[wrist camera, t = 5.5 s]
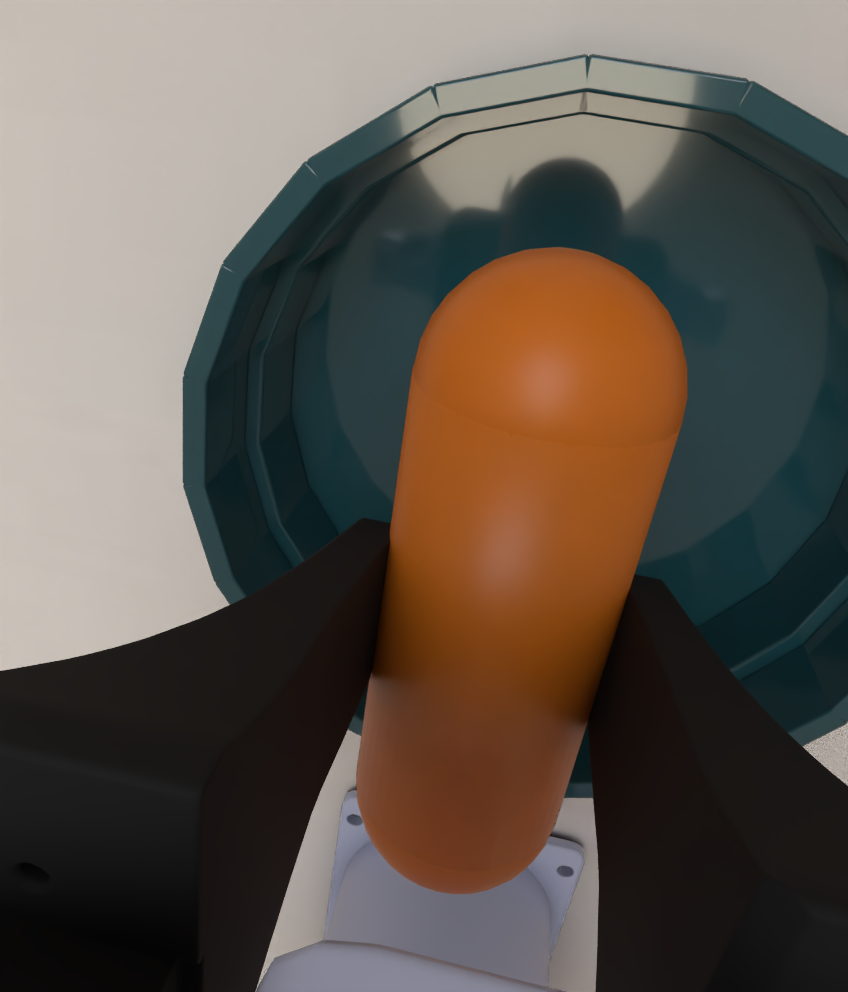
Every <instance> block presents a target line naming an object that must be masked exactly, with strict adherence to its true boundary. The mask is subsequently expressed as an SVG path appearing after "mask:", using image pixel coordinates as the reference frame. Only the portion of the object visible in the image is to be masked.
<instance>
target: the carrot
mask: <svg viewBox="0 0 848 992" xmlns="http://www.w3.org/2000/svg"><path fill="white" fill-rule="evenodd" d="M687 398H688V393H687V362H686V358H685V354H684V349H683V345H682V341H681V336H680V334H679V332H678V330H677V328H676V326H675V324H674V322H673V320H672V318H671V316H670V314H669V312H668V310H667V309H666V308H665V307H664V305H663V304H662V303H661V301H660V300H659V299H658V298H657V296H656V295H655V294H654V292H653V291H652V290H651V289H650V287H649V286H648V285H646V284H645V283H644V282H643V281H641V280H640V279H639V278H638V277H636V276H635V275H634V274H633V273H631V272H630V271H629V270H628V269H626V268H625V267H623V266H621V265H619V264H617V263H614V262H612V261H610V260H608V259H606V258H604V257H602V256H600V255H597V254H594V253H591V252H587V251H583V250H578V249H572V248H564V247H550V248H538V249H527V250H523V251H520V252H516V253H513V254H510V255H507V256H504V257H501V258H498V259H495V260H493V261H492V262H490V263H488V264H486V265H484V266H483V267H481V268H479V269H477V270H476V271H474V272H472V273H471V274H470V275H469V276H468V277H466V278H465V279H464V280H463V281H462V282H461V283H460V284H459V285H457V286H456V287H455V288H454V289H453V290H452V291H451V292H450V293H448V294H447V296H446V297H445V298H444V300H443V301H442V302H441V304H440V305H439V306H438V308H437V309H436V310H435V312H434V313H433V314H432V316H431V318H430V320H429V322H428V324H427V326H426V328H425V330H424V333H423V335H422V337H421V339H420V343H419V347H418V351H417V355H416V359H415V363H414V366H413V369H412V376H411V383H410V390H409V398H408V405H407V412H406V419H405V426H404V433H403V441H402V448H401V455H400V462H399V469H398V477H397V484H396V491H395V498H394V505H393V513H392V520H391V527H390V546H389V553H388V560H387V567H386V574H385V582H384V589H383V596H382V603H381V610H380V617H379V624H378V631H377V639H376V646H375V653H374V660H373V667H372V673H371V677H370V680H369V685H368V692H367V699H366V707H365V714H364V721H363V728H362V735H361V742H360V750H359V757H358V764H357V773H356V787H357V803H358V806H359V810H360V813H361V816H362V820H363V823H364V826H365V829H366V832H367V834H368V836H369V837H370V839H371V841H372V843H373V844H374V846H375V848H376V849H377V850H378V851H379V853H380V854H381V855H382V856H383V858H384V859H385V860H386V861H387V862H388V863H389V865H390V866H391V867H392V868H394V869H395V870H396V871H397V872H399V873H400V874H401V875H402V876H404V877H405V878H407V879H408V880H410V881H412V882H414V883H416V884H418V885H419V886H422V887H425V888H428V889H431V890H434V891H437V892H443V893H449V894H473V893H478V892H483V891H487V890H490V889H492V888H494V887H497V886H499V885H501V884H503V883H506V882H508V881H510V880H512V879H513V878H515V877H516V876H517V875H519V874H520V873H521V872H523V871H524V870H525V869H526V868H527V867H528V866H529V865H530V864H531V863H532V862H533V861H534V860H535V858H536V857H537V856H538V855H539V853H540V852H541V851H542V850H543V848H544V847H545V845H546V843H547V841H548V839H549V836H550V834H551V832H552V830H553V828H554V826H555V824H556V821H557V817H558V814H559V811H560V808H561V805H562V802H563V799H564V795H565V792H566V789H567V786H568V783H569V780H570V776H571V773H572V770H573V767H574V764H575V761H576V757H577V754H578V751H579V748H580V745H581V742H582V738H583V735H584V732H585V729H586V726H587V723H588V719H589V716H590V713H591V710H592V706H593V703H594V700H595V697H596V694H597V691H598V688H599V684H600V681H601V678H602V675H603V672H604V669H605V665H606V662H607V659H608V656H609V653H610V650H611V646H612V643H613V640H614V637H615V634H616V631H617V627H618V624H619V621H620V618H621V615H622V612H623V608H624V605H625V602H626V599H627V596H628V593H629V589H630V587H631V584H632V580H633V577H634V574H635V571H636V568H637V565H638V561H639V558H640V555H641V552H642V549H643V546H644V542H645V539H646V536H647V533H648V530H649V527H650V523H651V520H652V517H653V514H654V511H655V508H656V504H657V501H658V498H659V495H660V492H661V489H662V486H663V482H664V479H665V476H666V473H667V470H668V467H669V463H670V460H671V457H672V454H673V451H674V448H675V444H676V441H677V438H678V435H679V432H680V429H681V425H682V422H683V417H684V412H685V407H686V402H687Z"/></svg>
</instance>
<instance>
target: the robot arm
mask: <svg viewBox="0 0 848 992" xmlns="http://www.w3.org/2000/svg"><path fill="white" fill-rule="evenodd" d="M390 527H391V523H387V522H383V521H378V520H373V519H368V518H362V519H360V520H358V521H357V522H355V523H354V524H353V525H351V526H350V527H349V528H347V529H346V530H345V531H344V532H342V533H341V534H340V535H338V536H337V537H336V538H335V539H333V540H332V541H331V542H329V543H328V544H327V545H325V546H324V547H323V548H321V549H320V550H319V551H317V552H316V553H314V554H313V555H311V556H310V557H309V558H307V559H306V560H304V561H303V562H301V563H300V564H298V565H297V566H296V567H294V568H293V569H291V570H290V571H288V572H287V573H285V574H284V575H282V576H280V577H279V578H277V579H275V580H274V581H272V582H270V583H269V584H267V585H265V586H264V587H262V588H261V589H259V590H257V591H256V592H254V593H252V594H250V595H249V596H247V597H245V598H243V599H241V600H239V601H237V602H235V603H233V604H231V605H229V606H227V607H224V608H222V609H220V610H218V611H216V612H214V613H212V614H209V615H207V616H205V617H202V618H200V619H198V620H195V621H192V622H190V623H187V624H184V625H181V626H179V627H176V628H173V629H170V630H168V631H165V632H162V633H160V634H157V635H154V636H151V637H149V638H145V639H142V640H139V641H136V642H132V643H129V644H125V645H122V646H119V647H115V648H111V649H107V650H103V651H99V652H95V653H92V654H88V655H83V656H79V657H74V658H70V659H65V660H60V661H54V662H49V663H43V664H38V665H32V666H27V667H21V668H16V669H10V670H4V671H0V992H255V991H256V988H257V985H258V981H259V978H260V975H261V971H262V968H263V965H264V962H265V958H266V955H267V952H268V948H269V945H270V942H271V939H272V935H273V932H274V929H275V926H276V923H277V919H278V916H279V913H280V910H281V907H282V904H283V900H284V897H285V894H286V891H287V888H288V885H289V881H290V878H291V875H292V872H293V869H294V866H295V863H296V860H297V856H298V853H299V850H300V847H301V844H302V841H303V838H304V835H305V832H306V829H307V826H308V823H309V820H310V817H311V814H312V811H313V809H314V806H315V804H316V801H317V798H318V796H319V793H320V791H321V788H322V786H323V784H324V782H325V779H326V777H327V775H328V773H329V770H330V768H331V766H332V764H333V761H334V759H335V757H336V755H337V752H338V750H339V748H340V746H341V743H342V741H343V739H344V737H345V734H346V732H347V730H348V728H349V725H350V723H351V721H352V719H353V716H354V714H355V712H356V710H357V707H358V705H359V703H360V700H361V698H362V696H363V694H364V691H365V689H366V687H367V684H368V682H369V680H370V677H371V673H372V667H373V660H374V653H375V646H376V639H377V631H378V624H379V617H380V610H381V603H382V596H383V589H384V582H385V574H386V567H387V560H388V553H389V546H390ZM588 736H589V750H590V763H591V776H592V788H593V801H594V813H595V825H596V837H597V849H598V869H599V907H598V947H597V973H596V992H848V786H847V785H846V784H845V783H843V782H842V781H841V780H840V779H838V778H837V777H836V776H835V775H834V774H832V773H831V772H830V771H829V770H828V769H827V768H825V767H824V766H823V765H822V764H821V763H820V762H819V761H817V760H816V759H815V758H814V757H813V756H812V755H811V754H809V753H808V752H807V751H806V750H805V749H804V748H803V747H802V746H801V745H800V744H799V743H798V742H797V741H796V740H795V739H794V738H793V737H792V736H791V735H790V734H789V733H787V732H786V731H785V730H784V729H783V728H782V727H781V726H780V725H779V724H778V723H777V722H776V721H775V720H774V719H773V718H772V717H771V716H770V715H769V714H768V713H767V712H766V711H765V709H764V708H763V707H762V706H761V705H760V704H759V703H758V702H757V701H756V700H755V698H754V697H753V696H752V695H751V694H750V693H749V692H748V691H747V689H746V688H745V687H744V686H743V685H742V684H741V683H740V682H739V680H738V679H737V678H736V677H735V676H734V675H733V673H732V672H731V671H730V670H729V668H728V667H727V666H726V665H725V664H724V662H723V661H722V660H721V659H720V657H719V656H718V655H717V654H716V652H715V651H714V650H713V648H712V647H711V646H710V645H709V643H708V642H707V641H706V639H705V638H704V637H703V635H702V634H701V633H700V631H699V630H698V629H697V627H696V626H695V625H694V623H693V622H692V621H691V619H690V618H689V616H688V615H687V614H686V612H685V611H684V609H683V608H682V607H681V605H680V604H679V603H678V601H677V600H676V598H675V597H674V596H673V594H672V593H671V591H670V590H669V589H668V587H667V586H666V585H665V583H664V582H663V581H662V580H661V579H656V578H651V577H646V576H642V575H637V574H634V577H633V580H632V584H631V587H630V589H629V593H628V596H627V599H626V602H625V605H624V608H623V612H622V615H621V618H620V621H619V624H618V627H617V631H616V634H615V637H614V640H613V643H612V646H611V650H610V653H609V656H608V659H607V662H606V665H605V669H604V672H603V675H602V678H601V681H600V684H599V688H598V691H597V694H596V697H595V700H594V703H593V706H592V710H591V713H590V716H589V719H588ZM353 814H355V815H358V816H355V815H353ZM583 865H584V850H583V848H582V847H581V846H580V845H579V844H577V843H575V842H572V841H568V840H564V839H560V838H556V837H551V836H549V839H548V841H547V843H546V845H545V847H544V848H543V850H542V851H541V852H540V853H539V855H538V856H537V857H536V858H535V860H534V861H533V862H532V863H531V864H530V865H529V866H528V867H527V868H526V869H525V870H524V871H523V872H521V873H520V874H519V875H517V876H516V877H515V878H513V879H512V880H510V881H508V882H506V883H503V884H501V885H499V886H497V887H494V888H492V889H490V890H487V891H483V892H478V893H473V894H449V893H443V892H437V891H434V890H431V889H428V888H425V887H422V886H419V885H418V884H416V883H414V882H412V881H410V880H408V879H407V878H405V877H404V876H402V875H401V874H400V873H399V872H397V871H396V870H395V869H394V868H392V867H391V866H390V865H389V863H388V862H387V861H386V860H385V859H384V858H383V856H382V855H381V854H380V853H379V851H378V850H377V849H376V848H375V846H374V844H373V843H372V841H371V839H370V837H369V836H368V834H367V832H366V829H365V826H364V823H363V820H362V816H361V813H360V810H359V806H358V803H357V790H353V791H349V792H348V793H347V794H346V795H345V797H344V800H343V803H342V808H341V815H340V823H339V830H338V837H337V845H336V852H335V860H334V867H333V874H332V882H331V889H330V896H329V904H328V911H327V919H326V926H325V933H324V941H321V942H318V943H315V944H312V945H309V946H307V947H304V948H301V949H298V950H295V951H292V952H289V953H287V954H284V955H281V956H279V957H276V958H274V960H273V962H272V963H271V965H270V967H269V969H268V970H267V972H266V974H265V976H264V977H263V979H262V981H261V983H260V984H259V986H258V988H257V991H256V992H565V991H561V990H557V989H553V988H549V960H550V958H551V955H552V952H553V949H554V946H555V944H556V941H557V938H558V935H559V932H560V930H561V927H562V924H563V921H564V918H565V916H566V913H567V910H568V907H569V904H570V902H571V899H572V896H573V893H574V890H575V888H576V885H577V882H578V879H579V877H580V874H581V871H582V868H583ZM566 866H568V867H566Z"/></svg>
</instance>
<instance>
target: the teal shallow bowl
mask: <svg viewBox="0 0 848 992" xmlns="http://www.w3.org/2000/svg"><path fill="white" fill-rule="evenodd" d="M550 247H564V248H572V249H578V250H583V251H587V252H591V253H594V254H597V255H600V256H602V257H604V258H606V259H608V260H610V261H612V262H614V263H617V264H619V265H621V266H623V267H625V268H626V269H628V270H629V271H630V272H631V273H633V274H634V275H635V276H636V277H638V278H639V279H640V280H641V281H643V282H644V283H645V284H646V285H648V286H649V287H650V289H651V290H652V291H653V292H654V294H655V295H656V296H657V298H658V299H659V300H660V301H661V303H662V304H663V305H664V307H665V308H666V309H667V310H668V312H669V314H670V316H671V318H672V320H673V322H674V324H675V326H676V328H677V330H678V332H679V334H680V336H681V341H682V345H683V349H684V354H685V358H686V362H687V393H688V398H687V402H686V407H685V412H684V417H683V422H682V425H681V429H680V432H679V435H678V438H677V441H676V444H675V448H674V451H673V454H672V457H671V460H670V463H669V467H668V470H667V473H666V476H665V479H664V482H663V486H662V489H661V492H660V495H659V498H658V501H657V504H656V508H655V511H654V514H653V517H652V520H651V523H650V527H649V530H648V533H647V536H646V539H645V542H644V546H643V549H642V552H641V555H640V558H639V561H638V565H637V568H636V571H635V574H637V575H642V576H646V577H651V578H656V579H661V580H662V581H663V582H664V583H665V585H666V586H667V587H668V589H669V590H670V591H671V593H672V594H673V596H674V597H675V598H676V600H677V601H678V603H679V604H680V605H681V607H682V608H683V609H684V611H685V612H686V614H687V615H688V616H689V618H690V619H691V621H692V622H693V623H694V625H695V626H696V627H697V629H698V630H699V631H700V633H701V634H702V635H703V637H704V638H705V639H706V641H707V642H708V643H709V645H710V646H711V647H712V648H713V650H714V651H715V652H716V654H717V655H718V656H719V657H720V659H721V660H722V661H723V662H724V664H725V665H726V666H727V667H728V668H729V670H730V671H731V672H732V673H733V675H734V676H735V677H736V678H737V679H738V680H739V682H740V683H741V684H742V685H743V686H744V687H745V688H746V689H747V691H748V692H749V693H750V694H751V695H752V696H753V697H754V698H755V700H756V701H757V702H758V703H759V704H760V705H761V706H762V707H763V708H764V709H765V711H766V712H767V713H768V714H769V715H770V716H771V717H772V718H773V719H774V720H775V721H776V722H777V723H778V724H779V725H780V726H781V727H782V728H783V729H784V730H785V731H786V732H787V733H789V734H790V735H791V736H792V737H793V738H794V739H795V740H796V741H797V742H798V743H799V744H800V745H801V746H804V745H806V744H808V743H810V742H812V741H814V740H816V739H818V738H820V737H822V736H824V735H826V734H828V733H830V732H832V731H834V730H836V729H838V728H840V727H842V726H844V725H846V723H847V722H848V135H846V134H844V133H843V132H841V131H839V130H837V129H836V128H834V127H832V126H831V125H829V124H827V123H825V122H824V121H822V120H820V119H818V118H817V117H815V116H813V115H812V114H810V113H808V112H806V111H805V110H803V109H801V108H799V107H798V106H796V105H794V104H793V103H791V102H789V101H787V100H786V99H784V98H782V97H780V96H779V95H777V94H775V93H774V92H772V91H770V90H768V89H767V88H765V87H763V86H761V85H760V84H758V83H756V82H755V81H749V80H748V79H746V78H740V77H734V76H728V75H721V74H715V73H709V72H702V71H696V70H690V69H683V68H677V67H671V66H664V65H658V64H652V63H645V62H639V61H633V60H626V59H620V58H614V57H607V56H601V55H595V54H592V55H589V57H588V55H585V54H584V55H579V56H574V57H568V58H563V59H558V60H553V61H548V62H543V63H538V64H533V65H528V66H523V67H518V68H513V69H507V70H502V71H497V72H492V73H487V74H482V75H477V76H472V77H467V78H462V79H457V80H452V81H446V82H441V83H436V84H435V85H434V86H429V87H427V88H425V89H424V90H422V91H420V92H419V93H417V94H415V95H414V96H412V97H410V98H409V99H407V100H405V101H404V102H402V103H400V104H399V105H397V106H395V107H394V108H392V109H390V110H389V111H387V112H385V113H384V114H382V115H380V116H379V117H377V118H375V119H374V120H372V121H370V122H369V123H367V124H365V125H364V126H362V127H360V128H359V129H357V130H355V131H353V132H352V133H350V134H348V135H347V136H345V137H343V138H342V139H340V140H338V141H337V142H335V143H333V144H332V145H330V146H328V147H327V148H325V149H323V150H322V151H320V152H318V153H317V154H315V155H313V156H312V157H310V158H309V159H308V160H307V161H306V162H304V163H303V164H302V165H301V167H300V168H299V169H298V170H297V171H296V173H295V174H294V175H293V176H292V178H291V179H290V180H289V181H288V182H287V184H286V185H285V186H284V187H283V189H282V190H281V191H280V192H279V194H278V195H277V196H276V197H275V198H274V200H273V201H272V202H271V203H270V205H269V206H268V207H267V208H266V209H265V211H264V212H263V213H262V214H261V216H260V217H259V218H258V219H257V220H256V222H255V223H254V224H253V225H252V227H251V228H250V229H249V230H248V231H247V233H246V234H245V235H244V236H243V238H242V239H241V240H240V241H239V243H238V244H237V245H236V246H235V247H234V249H233V250H232V251H231V252H230V254H229V255H228V256H227V257H226V258H225V260H224V262H223V263H224V264H222V265H221V268H220V271H219V274H218V276H217V279H216V282H215V285H214V288H213V291H212V293H211V296H210V299H209V302H208V305H207V308H206V311H205V313H204V316H203V319H202V322H201V325H200V328H199V330H198V333H197V336H196V339H195V342H194V345H193V348H192V350H191V353H190V356H189V359H188V362H187V365H186V367H185V370H184V376H183V484H184V485H183V487H184V490H185V493H186V496H187V499H188V503H189V506H190V509H191V512H192V515H193V518H194V521H195V524H196V527H197V530H198V533H199V536H200V539H201V542H202V545H203V549H204V552H205V555H206V558H207V561H208V564H209V567H210V570H211V573H212V576H213V579H214V581H215V582H216V585H217V587H218V588H219V590H220V591H221V592H222V594H223V595H224V597H225V598H226V600H227V601H228V603H229V604H230V605H231V604H233V603H235V602H237V601H239V600H241V599H243V598H245V597H247V596H249V595H250V594H252V593H254V592H256V591H257V590H259V589H261V588H262V587H264V586H265V585H267V584H269V583H270V582H272V581H274V580H275V579H277V578H279V577H280V576H282V575H284V574H285V573H287V572H288V571H290V570H291V569H293V568H294V567H296V566H297V565H298V564H300V563H301V562H303V561H304V560H306V559H307V558H309V557H310V556H311V555H313V554H314V553H316V552H317V551H319V550H320V549H321V548H323V547H324V546H325V545H327V544H328V543H329V542H331V541H332V540H333V539H335V538H336V537H337V536H338V535H340V534H341V533H342V532H344V531H345V530H346V529H347V528H349V527H350V526H351V525H353V524H354V523H355V522H357V521H358V520H360V519H362V518H368V519H373V520H378V521H383V522H387V523H391V520H392V513H393V505H394V498H395V491H396V484H397V477H398V469H399V462H400V455H401V448H402V441H403V433H404V426H405V419H406V412H407V405H408V398H409V390H410V383H411V376H412V369H413V366H414V363H415V359H416V355H417V351H418V347H419V343H420V339H421V337H422V335H423V333H424V330H425V328H426V326H427V324H428V322H429V320H430V318H431V316H432V314H433V313H434V312H435V310H436V309H437V308H438V306H439V305H440V304H441V302H442V301H443V300H444V298H445V297H446V296H447V294H448V293H450V292H451V291H452V290H453V289H454V288H455V287H456V286H457V285H459V284H460V283H461V282H462V281H463V280H464V279H465V278H466V277H468V276H469V275H470V274H471V273H472V272H474V271H476V270H477V269H479V268H481V267H483V266H484V265H486V264H488V263H490V262H492V261H493V260H495V259H498V258H501V257H504V256H507V255H510V254H513V253H516V252H520V251H523V250H527V249H538V248H550ZM368 685H369V682H368V684H367V687H366V689H365V691H364V694H363V696H362V698H361V700H360V703H359V705H358V707H357V710H356V712H355V714H354V716H353V719H352V721H351V723H350V725H349V730H350V731H352V732H354V733H356V734H358V735H360V736H361V735H362V728H363V721H364V714H365V707H366V699H367V692H368ZM564 798H593V788H592V776H591V763H590V750H589V736H588V723H587V726H586V729H585V732H584V735H583V738H582V742H581V745H580V748H579V751H578V754H577V757H576V761H575V764H574V767H573V770H572V773H571V776H570V780H569V783H568V786H567V789H566V792H565V795H564Z"/></svg>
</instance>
